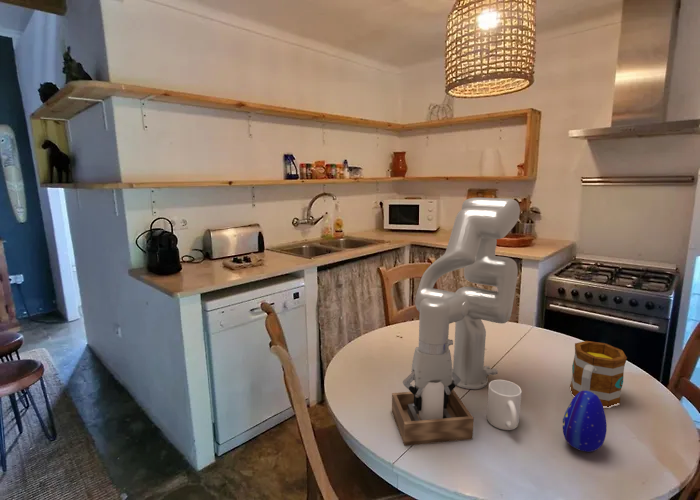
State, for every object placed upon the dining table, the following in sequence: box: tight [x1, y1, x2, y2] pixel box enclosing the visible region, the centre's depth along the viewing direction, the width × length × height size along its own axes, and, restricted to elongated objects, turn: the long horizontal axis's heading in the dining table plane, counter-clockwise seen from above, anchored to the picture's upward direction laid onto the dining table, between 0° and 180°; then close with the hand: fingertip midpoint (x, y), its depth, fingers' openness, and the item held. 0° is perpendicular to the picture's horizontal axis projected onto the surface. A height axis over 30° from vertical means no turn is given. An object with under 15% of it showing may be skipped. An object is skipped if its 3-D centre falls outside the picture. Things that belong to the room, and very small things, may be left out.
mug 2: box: [569, 340, 628, 407], centre depth 115 cm, size 20×14×15 cm
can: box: [419, 381, 444, 420], centre depth 104 cm, size 6×6×12 cm
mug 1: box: [486, 379, 522, 431], centre depth 104 cm, size 12×8×10 cm
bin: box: [391, 389, 475, 447], centre depth 105 cm, size 18×14×6 cm
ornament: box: [562, 391, 608, 453], centre depth 95 cm, size 11×9×15 cm
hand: (430, 406), depth 104 cm, fingers closed on can, 6 cm apart
